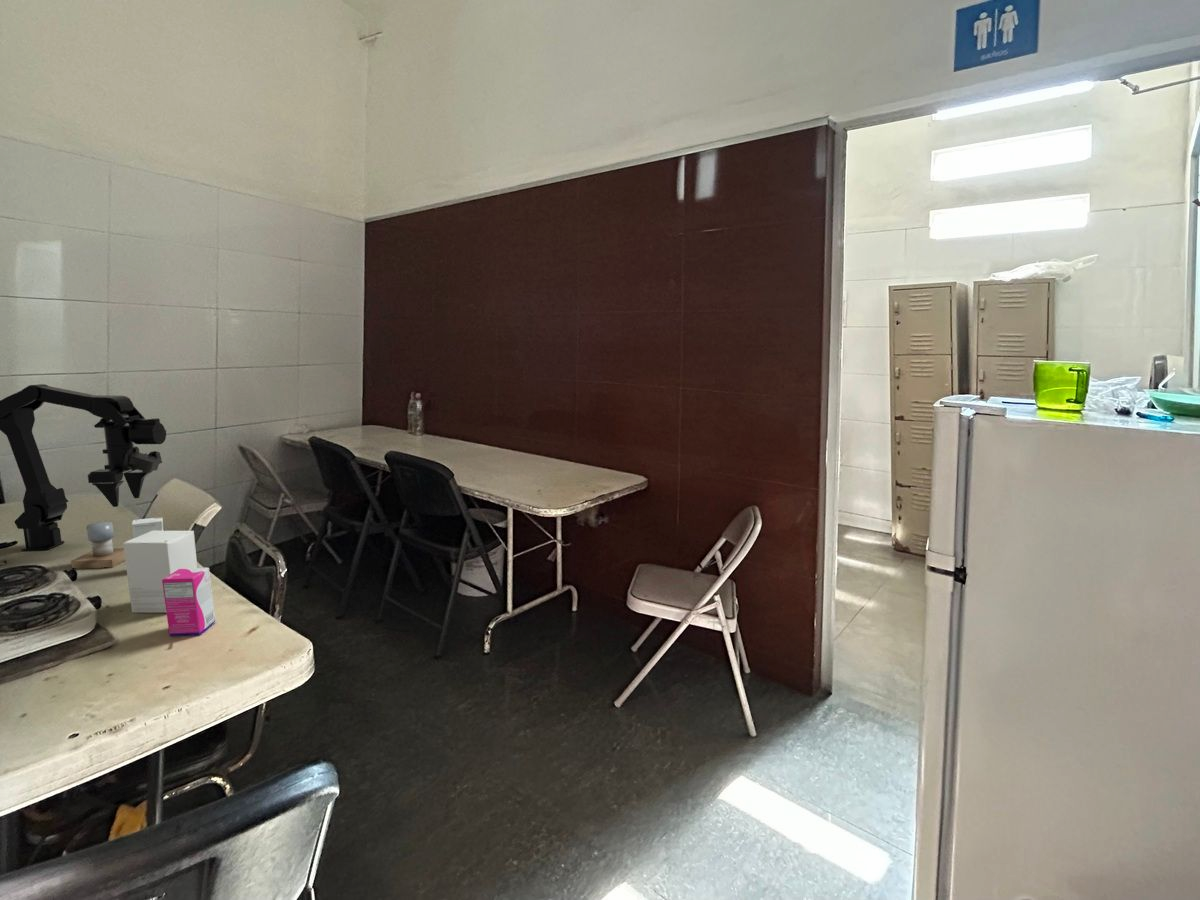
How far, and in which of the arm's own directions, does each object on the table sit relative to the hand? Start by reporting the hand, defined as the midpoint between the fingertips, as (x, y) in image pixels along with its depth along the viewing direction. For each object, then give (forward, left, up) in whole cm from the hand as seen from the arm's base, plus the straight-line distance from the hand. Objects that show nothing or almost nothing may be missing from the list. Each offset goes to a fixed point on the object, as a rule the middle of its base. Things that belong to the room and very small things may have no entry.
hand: (126, 502), depth 166 cm
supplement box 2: (+41, -55, -12) cm, 70 cm away
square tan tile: (+1, -13, -12) cm, 18 cm away
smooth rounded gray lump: (+1, -13, -6) cm, 14 cm away
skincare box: (+15, -19, -12) cm, 27 cm away
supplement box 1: (+30, -42, -12) cm, 53 cm away
